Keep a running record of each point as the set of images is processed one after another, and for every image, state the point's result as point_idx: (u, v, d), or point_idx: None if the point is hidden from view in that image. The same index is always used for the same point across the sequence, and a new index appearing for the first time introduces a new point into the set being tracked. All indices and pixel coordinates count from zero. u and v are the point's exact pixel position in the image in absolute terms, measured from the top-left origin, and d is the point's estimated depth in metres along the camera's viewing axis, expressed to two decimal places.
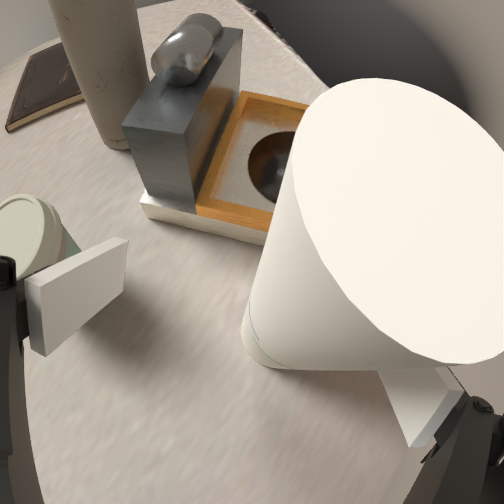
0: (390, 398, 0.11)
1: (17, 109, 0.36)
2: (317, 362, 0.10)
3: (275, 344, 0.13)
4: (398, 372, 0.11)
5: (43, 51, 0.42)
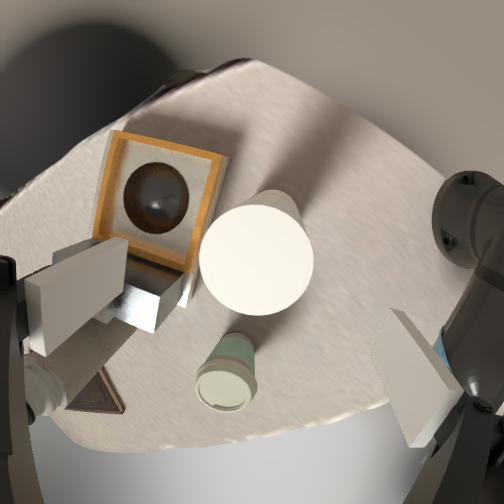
0: (390, 398, 0.11)
1: (106, 406, 0.54)
2: None
3: None
4: (398, 372, 0.11)
5: None
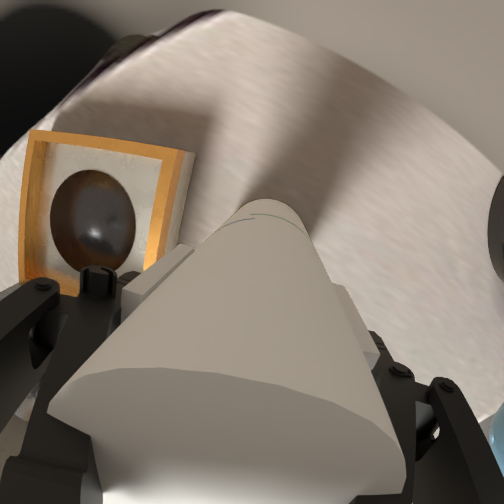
0: None
1: None
2: None
3: None
4: None
5: None
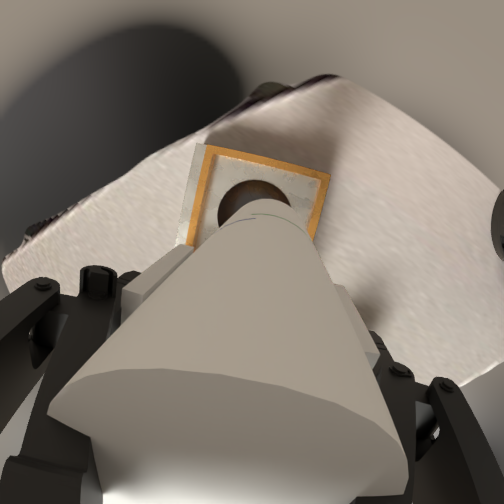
0: None
1: None
2: None
3: None
4: None
5: None
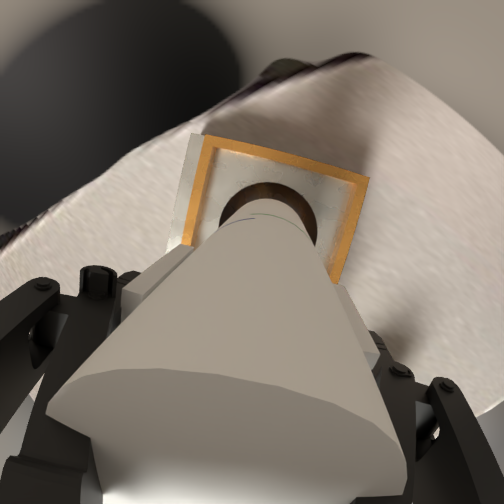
0: None
1: None
2: None
3: None
4: None
5: None
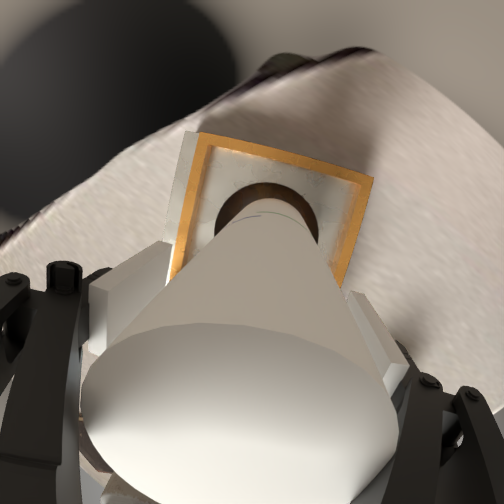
0: None
1: None
2: None
3: None
4: None
5: (91, 461, 0.46)
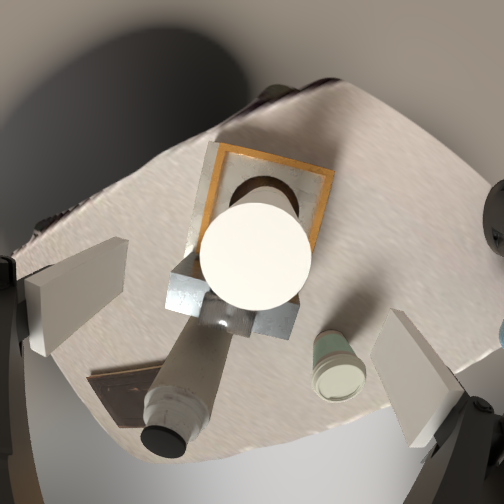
0: (390, 398, 0.11)
1: None
2: None
3: None
4: (398, 372, 0.11)
5: (114, 417, 0.60)
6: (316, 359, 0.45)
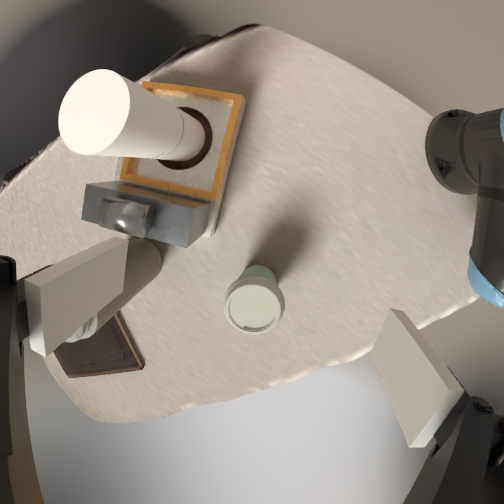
0: (390, 398, 0.11)
1: (125, 363, 0.58)
2: (154, 133, 0.26)
3: (155, 147, 0.29)
4: (398, 372, 0.11)
5: (63, 365, 0.60)
6: None
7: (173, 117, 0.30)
